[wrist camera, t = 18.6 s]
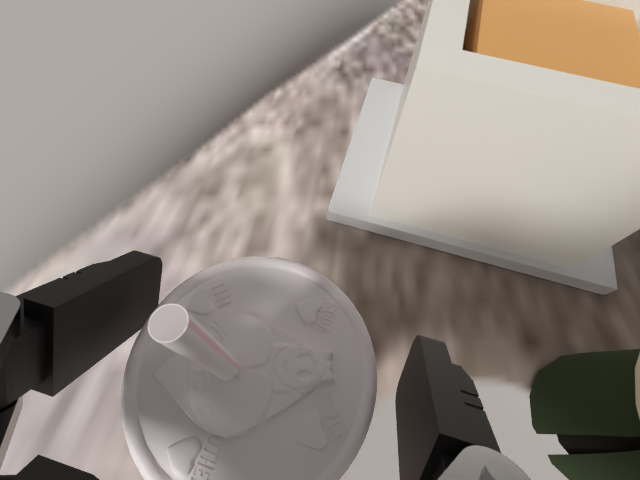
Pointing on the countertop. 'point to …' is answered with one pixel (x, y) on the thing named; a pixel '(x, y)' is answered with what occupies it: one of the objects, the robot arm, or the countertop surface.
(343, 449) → the smoothie
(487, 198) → the white open box
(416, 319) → the countertop surface
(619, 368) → the character mug
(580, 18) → the orange block
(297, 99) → the countertop surface
